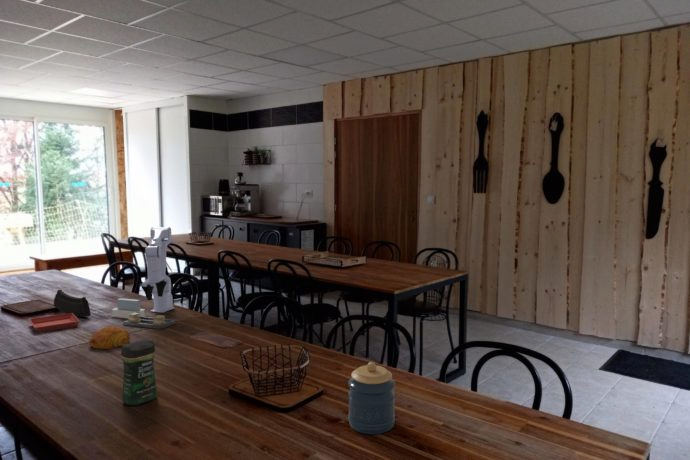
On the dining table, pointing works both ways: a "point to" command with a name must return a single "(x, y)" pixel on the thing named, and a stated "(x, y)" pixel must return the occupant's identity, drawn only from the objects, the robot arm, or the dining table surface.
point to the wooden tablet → (216, 339)
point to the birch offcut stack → (134, 317)
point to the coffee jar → (138, 372)
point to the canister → (371, 399)
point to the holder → (126, 313)
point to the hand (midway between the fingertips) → (154, 298)
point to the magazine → (71, 304)
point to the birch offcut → (159, 319)
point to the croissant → (109, 338)
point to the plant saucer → (54, 322)
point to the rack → (149, 323)
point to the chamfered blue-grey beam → (128, 304)
